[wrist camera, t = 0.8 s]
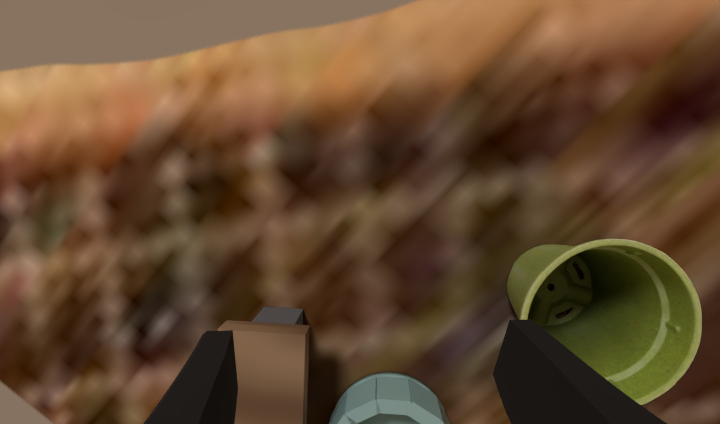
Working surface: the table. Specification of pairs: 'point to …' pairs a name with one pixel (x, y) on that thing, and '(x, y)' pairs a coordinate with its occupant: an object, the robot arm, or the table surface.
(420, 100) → the table surface
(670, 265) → the plant pot
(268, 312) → the grey rectangular block
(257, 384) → the walnut board
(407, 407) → the bowl
